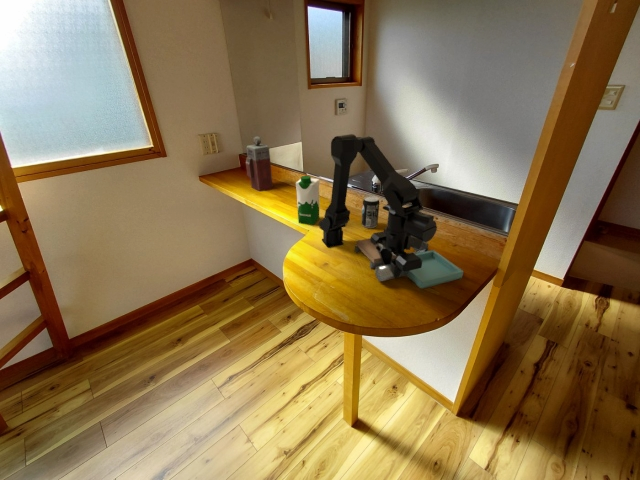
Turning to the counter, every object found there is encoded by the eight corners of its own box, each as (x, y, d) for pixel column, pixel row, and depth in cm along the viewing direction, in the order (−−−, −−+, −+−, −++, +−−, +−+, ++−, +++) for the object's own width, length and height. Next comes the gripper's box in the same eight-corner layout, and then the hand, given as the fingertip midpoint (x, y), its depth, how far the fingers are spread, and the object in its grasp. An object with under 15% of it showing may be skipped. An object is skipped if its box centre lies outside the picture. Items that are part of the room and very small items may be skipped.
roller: (382, 284, 89) (383, 271, 86) (374, 275, 92) (375, 263, 90) (407, 277, 91) (410, 265, 89) (399, 270, 95) (401, 258, 93)
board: (373, 267, 96) (374, 259, 95) (355, 248, 107) (356, 241, 106) (400, 261, 99) (401, 253, 98) (380, 243, 110) (380, 236, 109)
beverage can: (365, 221, 130) (366, 194, 124) (379, 224, 127) (382, 197, 121) (358, 226, 124) (360, 199, 119) (373, 230, 121) (376, 202, 116)
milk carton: (295, 223, 128) (293, 178, 118) (303, 215, 136) (301, 171, 126) (315, 226, 125) (314, 179, 116) (321, 217, 133) (321, 173, 123)
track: (371, 269, 97) (372, 255, 95) (354, 251, 107) (355, 239, 105) (426, 256, 103) (428, 243, 101) (406, 240, 113) (407, 229, 111)
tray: (421, 289, 88) (422, 282, 86) (394, 264, 99) (395, 258, 98) (461, 278, 92) (463, 271, 91) (432, 255, 104) (433, 249, 102)
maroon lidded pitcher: (247, 188, 170) (240, 137, 156) (264, 184, 176) (259, 134, 163) (255, 192, 164) (249, 139, 150) (272, 188, 170) (268, 136, 157)
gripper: (443, 237, 78) (433, 285, 86) (402, 211, 94) (397, 253, 101) (407, 245, 75) (400, 294, 83) (371, 216, 91) (368, 260, 98)
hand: (391, 273), depth 91 cm, fingers closed on roller, 4 cm apart
